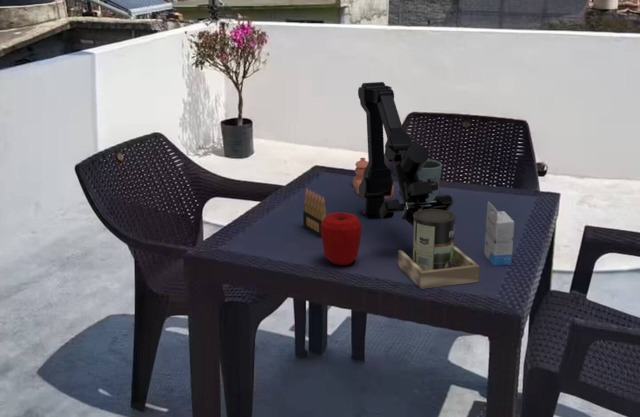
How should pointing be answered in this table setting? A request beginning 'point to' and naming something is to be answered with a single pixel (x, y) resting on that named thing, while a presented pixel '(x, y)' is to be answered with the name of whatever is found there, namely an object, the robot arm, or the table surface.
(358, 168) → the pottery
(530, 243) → the table surface
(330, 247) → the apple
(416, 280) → the corral
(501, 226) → the ink box
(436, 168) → the green cup
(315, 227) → the ammunition clip
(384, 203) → the robot arm
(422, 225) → the coffee can
